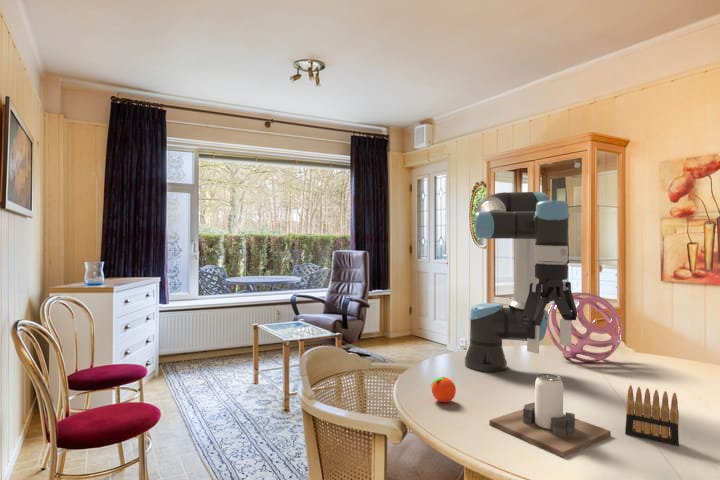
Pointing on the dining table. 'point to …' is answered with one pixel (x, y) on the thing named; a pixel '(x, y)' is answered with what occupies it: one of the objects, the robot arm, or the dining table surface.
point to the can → (548, 399)
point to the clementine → (443, 389)
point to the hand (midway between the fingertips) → (549, 348)
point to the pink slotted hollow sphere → (589, 329)
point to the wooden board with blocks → (551, 431)
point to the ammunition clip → (652, 417)
